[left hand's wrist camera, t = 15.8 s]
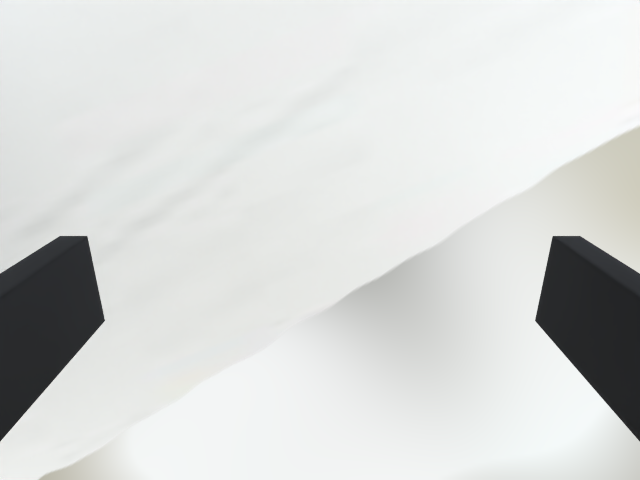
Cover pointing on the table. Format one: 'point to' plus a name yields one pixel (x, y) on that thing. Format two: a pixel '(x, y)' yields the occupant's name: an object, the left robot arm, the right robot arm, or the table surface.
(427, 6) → the table surface
